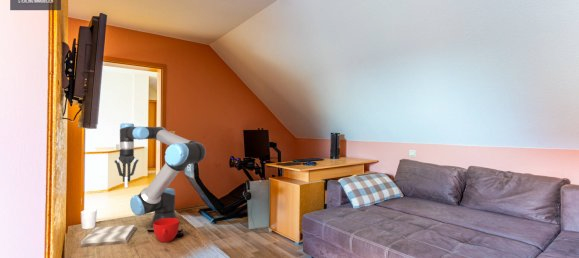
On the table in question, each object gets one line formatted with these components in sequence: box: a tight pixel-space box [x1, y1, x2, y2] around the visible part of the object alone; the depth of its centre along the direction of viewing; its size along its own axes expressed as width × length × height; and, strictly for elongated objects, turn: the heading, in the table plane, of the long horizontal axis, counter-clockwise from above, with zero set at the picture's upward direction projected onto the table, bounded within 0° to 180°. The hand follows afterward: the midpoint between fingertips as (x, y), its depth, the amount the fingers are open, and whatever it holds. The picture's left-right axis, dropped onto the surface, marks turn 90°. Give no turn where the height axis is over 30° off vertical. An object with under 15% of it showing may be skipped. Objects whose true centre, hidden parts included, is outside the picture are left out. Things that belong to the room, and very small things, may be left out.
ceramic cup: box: [153, 218, 180, 243], centre depth 156 cm, size 13×17×10 cm
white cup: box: [80, 208, 98, 230], centre depth 175 cm, size 8×8×10 cm
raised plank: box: [89, 224, 135, 234], centre depth 165 cm, size 20×10×2 cm, turn 106°
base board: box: [77, 226, 137, 248], centre depth 160 cm, size 22×22×3 cm
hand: (126, 187), depth 178 cm, fingers closed
